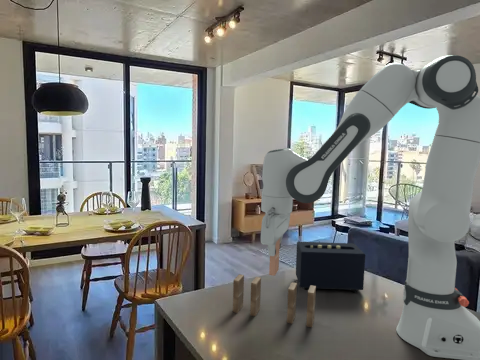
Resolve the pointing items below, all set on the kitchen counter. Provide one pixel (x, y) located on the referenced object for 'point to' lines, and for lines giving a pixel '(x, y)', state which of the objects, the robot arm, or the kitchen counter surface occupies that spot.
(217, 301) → the kitchen counter surface
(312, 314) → the domino
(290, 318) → the domino
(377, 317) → the kitchen counter surface
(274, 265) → the domino
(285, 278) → the kitchen counter surface
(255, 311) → the domino
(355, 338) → the kitchen counter surface
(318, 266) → the speaker
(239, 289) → the domino
